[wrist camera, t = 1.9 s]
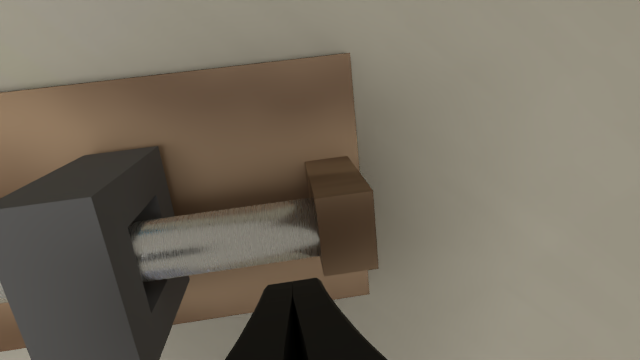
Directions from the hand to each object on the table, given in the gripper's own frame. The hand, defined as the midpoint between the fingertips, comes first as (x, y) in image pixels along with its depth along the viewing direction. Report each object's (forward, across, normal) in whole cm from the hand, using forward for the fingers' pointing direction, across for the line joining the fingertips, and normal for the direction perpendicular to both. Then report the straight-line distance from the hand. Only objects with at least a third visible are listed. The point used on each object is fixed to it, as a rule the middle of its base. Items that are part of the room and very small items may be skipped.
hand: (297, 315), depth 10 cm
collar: (+8, +6, 0) cm, 11 cm away
